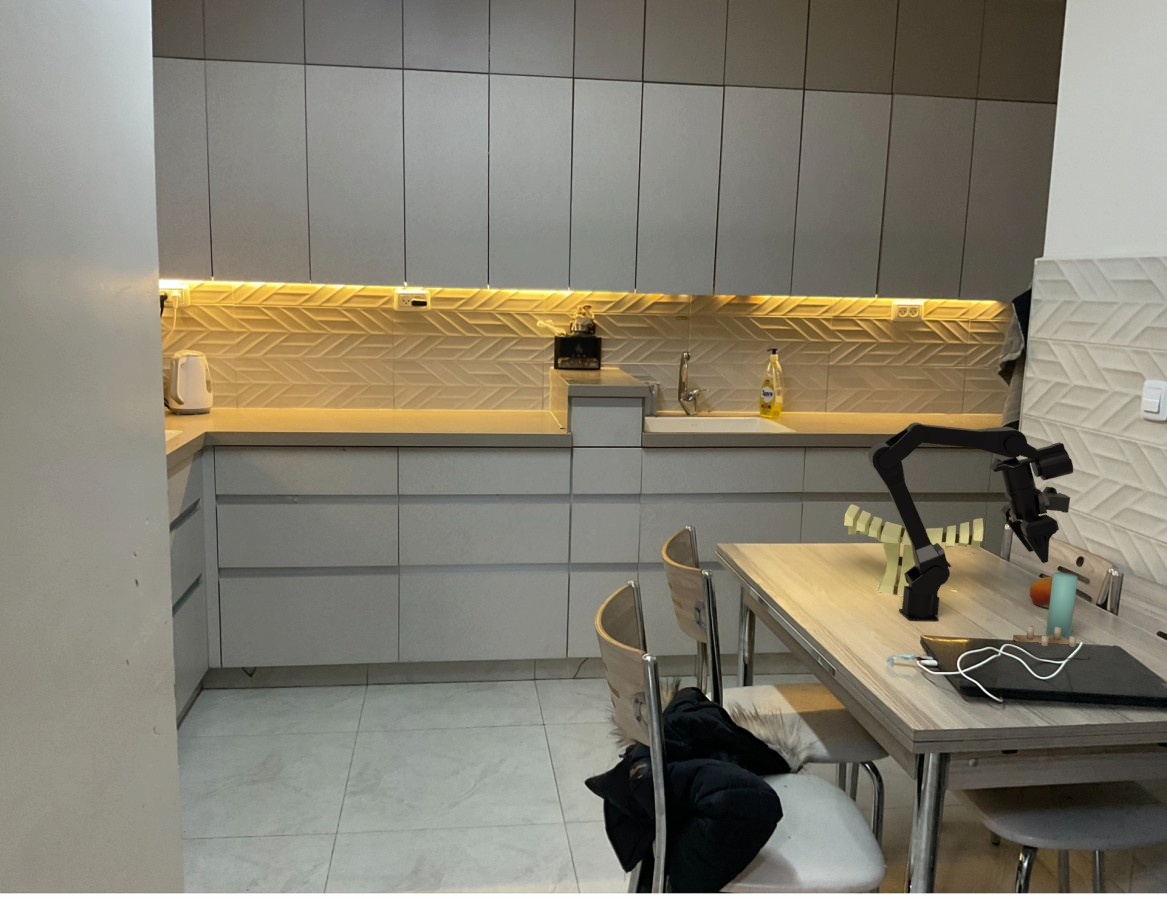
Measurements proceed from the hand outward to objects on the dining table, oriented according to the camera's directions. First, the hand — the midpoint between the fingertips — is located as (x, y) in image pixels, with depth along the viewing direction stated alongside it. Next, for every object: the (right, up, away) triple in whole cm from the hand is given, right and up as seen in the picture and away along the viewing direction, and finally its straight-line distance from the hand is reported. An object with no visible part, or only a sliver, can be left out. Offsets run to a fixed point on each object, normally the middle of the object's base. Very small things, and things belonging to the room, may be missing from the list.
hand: (1038, 556), depth 204 cm
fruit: (+10, -13, +17) cm, 24 cm away
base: (-4, -17, -12) cm, 21 cm away
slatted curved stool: (-18, -11, +27) cm, 35 cm away
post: (+2, -16, -4) cm, 17 cm away
